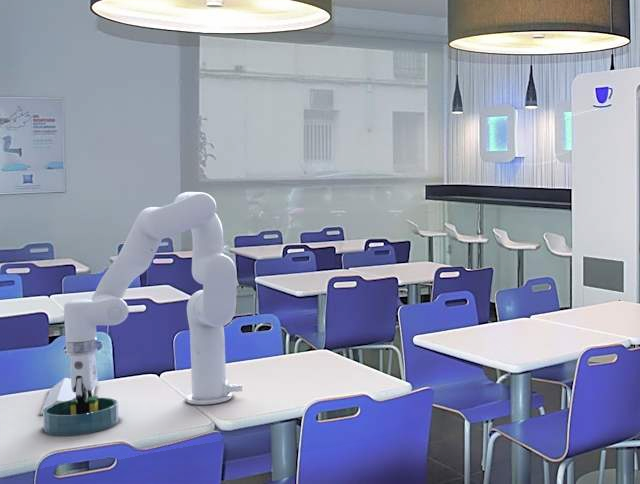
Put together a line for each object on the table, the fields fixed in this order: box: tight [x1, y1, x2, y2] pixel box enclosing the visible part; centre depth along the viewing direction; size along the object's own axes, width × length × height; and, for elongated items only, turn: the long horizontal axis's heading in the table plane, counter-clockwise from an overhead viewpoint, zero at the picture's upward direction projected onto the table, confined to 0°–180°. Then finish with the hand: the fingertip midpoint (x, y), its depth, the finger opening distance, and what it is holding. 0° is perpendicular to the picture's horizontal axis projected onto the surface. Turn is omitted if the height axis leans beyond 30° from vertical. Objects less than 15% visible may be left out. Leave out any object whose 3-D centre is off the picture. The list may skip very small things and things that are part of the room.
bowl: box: [42, 397, 119, 436], centre depth 229 cm, size 18×18×5 cm
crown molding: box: [40, 377, 96, 416], centre depth 255 cm, size 29×12×4 cm, turn 21°
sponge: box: [70, 395, 99, 415], centre depth 232 cm, size 6×4×4 cm, turn 103°
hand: (85, 414), depth 232 cm, fingers closed on sponge, 4 cm apart
